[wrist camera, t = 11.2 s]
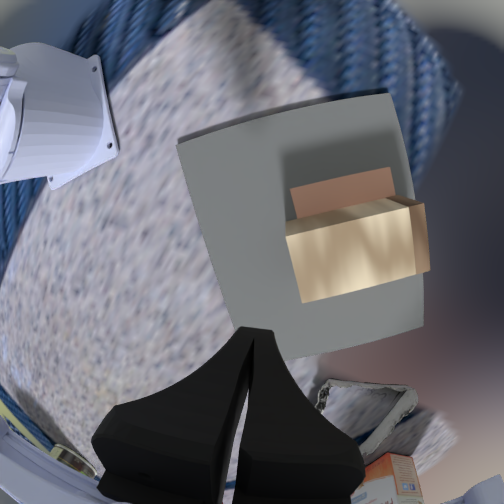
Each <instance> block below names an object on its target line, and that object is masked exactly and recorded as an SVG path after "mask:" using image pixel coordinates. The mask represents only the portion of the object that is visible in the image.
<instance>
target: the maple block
mask: <svg viewBox="0 0 504 504" xmlns="http://www.w3.org/2000/svg"><path fill="white" fill-rule="evenodd" d="M285 237H286V241H287V245H288V249H289V252H290V256H291V260H292V264H293V268H294V272H295V276H296V280H297V284H298V288H299V293H300V297H301V301H302V303H307V302H311V301H315V300H320V299H324V298H328V297H332V296H337V295H341V294H345V293H349V292H353V291H357V290H361V289H365V288H368V287H372V286H376V285H380V284H383V283H387V282H391V281H394V280H398V279H401V278H405V277H408V276H412V275H415V274H416V275H417V274H420V273H423V272H427V271H430V258H429V244H428V234H427V224H426V216H425V208H424V203H421V202H418V201H416V200H413V199H410V198H407V197H403V196H400V195H395V196H390V197H386V198H383V199H379V200H374V201H370V202H366V203H361V204H357V205H353V206H348V207H344V208H340V209H336V210H332V211H327V212H323V213H319V214H315V215H311V216H307V217H303V218H299V219H294V220H290V221H286V222H285Z"/></svg>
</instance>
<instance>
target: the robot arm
mask: <svg viewBox="0 0 504 504" xmlns="http://www.w3.org/2000/svg"><path fill="white" fill-rule="evenodd" d="M96 68H97V70H96V71H95V69H96ZM111 142H112V147H111V148H110V143H111ZM118 152H119V148H118V144H117V140H116V136H115V132H114V128H113V123H112V119H111V114H110V110H109V105H108V100H107V95H106V90H105V84H104V79H103V73H102V67H101V60H100V56H98V55H93V56H91V57H90V58H88V59H85V58H83V57H80V56H78V55H75V54H72V53H70V52H67V51H64V50H62V49H59V48H56V47H53V46H50V45H47V44H43V43H27V44H22V45H18V46H16V47H13V48H11V49H9V50H8V49H6V48H3V47H0V184H3V183H8V182H13V181H19V180H24V179H30V178H36V177H42V176H47V178H48V183H49V186H50V188H51V189H52V190H54V189H57V188H59V187H60V186H62V185H64V184H66V183H67V182H69V181H71V180H73V179H74V178H76V177H78V176H80V175H82V174H83V173H85V172H87V171H89V170H91V169H93V168H95V167H97V166H99V165H101V164H103V163H105V162H107V161H109V160H111V159H113V158H115V157H116V156H117V155H118ZM52 177H53V180H52ZM248 389H249V393H248V409H247V414H246V419H245V424H244V429H243V434H242V438H241V443H240V447H239V457H238V466H237V476H236V485H235V490H234V495H233V501H232V504H351V495H352V493H353V492H354V491H355V490H356V489H357V488H358V487H359V485H360V484H361V483H362V482H363V480H364V479H365V477H366V471H365V464H364V460H363V457H362V454H361V452H360V449H359V446H358V444H357V442H356V441H355V440H353V439H352V438H350V437H349V436H348V435H346V434H345V433H343V432H342V431H340V430H339V429H338V428H336V427H335V426H334V425H333V424H332V423H330V422H329V421H328V420H327V419H326V418H325V417H324V416H323V415H322V414H321V413H320V412H319V411H318V410H317V409H316V408H315V407H314V406H313V405H312V404H311V403H310V401H309V400H308V399H307V398H306V396H305V395H304V394H303V392H302V391H301V390H300V388H299V387H298V385H297V384H296V382H295V381H294V379H293V377H292V376H291V374H290V372H289V370H288V369H287V367H286V365H285V363H284V360H283V358H282V356H281V354H280V351H279V349H278V346H277V343H276V339H275V335H274V332H273V331H272V330H269V329H260V328H252V327H244V326H240V327H239V328H238V329H237V330H236V332H235V333H234V334H233V336H232V337H231V338H230V339H229V340H228V341H227V343H226V344H225V345H224V346H223V347H222V348H221V349H220V350H219V351H218V352H217V353H216V354H215V355H214V356H213V357H212V358H210V359H209V360H208V361H207V362H206V363H205V364H204V365H202V366H201V367H200V368H198V369H197V370H196V371H194V372H193V373H192V374H190V375H189V376H187V377H186V378H184V379H182V380H181V381H179V382H177V383H175V384H174V385H172V386H170V387H168V388H166V389H164V390H162V391H159V392H157V393H155V394H152V395H150V396H147V397H144V398H141V399H138V400H135V401H131V402H127V403H124V404H120V405H115V406H114V407H113V408H112V410H111V411H110V412H109V413H108V414H107V415H106V417H105V418H104V419H103V421H102V422H101V424H100V425H99V427H98V428H97V430H96V432H95V433H94V435H93V436H92V439H91V443H92V446H93V449H94V451H95V453H96V454H97V456H98V458H99V459H100V461H101V463H102V464H103V466H104V468H105V469H106V470H105V472H104V474H103V476H102V478H101V480H100V482H98V481H96V480H94V479H92V478H90V477H88V476H86V475H84V474H82V473H80V472H78V471H76V470H74V469H72V468H70V467H68V466H66V465H64V464H63V463H61V462H59V461H57V460H56V459H54V458H52V457H51V456H49V455H47V454H46V453H44V452H42V451H41V450H39V449H38V448H36V447H35V446H33V445H32V444H30V443H29V442H27V441H26V440H24V439H23V438H21V437H20V436H18V435H17V434H16V433H14V432H13V431H12V430H10V429H9V427H8V425H7V423H6V422H5V420H4V419H3V418H2V417H1V415H0V488H1V489H2V490H4V491H5V492H6V493H7V494H8V495H10V496H11V497H12V498H13V499H14V500H16V501H17V502H18V503H20V504H222V500H223V495H224V489H225V484H226V479H227V473H228V468H229V463H230V457H231V452H232V447H233V442H234V437H235V433H236V429H237V426H238V423H239V419H240V416H241V413H242V409H243V406H244V403H245V399H246V396H247V392H248ZM441 504H504V483H503V480H502V478H501V476H500V474H499V475H496V476H494V477H491V478H489V479H487V480H485V481H482V482H480V483H478V484H477V485H475V486H473V487H472V488H471V489H469V490H468V491H467V492H466V493H465V494H464V495H463V496H461V497H459V498H456V499H453V500H451V501H447V502H444V503H441Z"/></svg>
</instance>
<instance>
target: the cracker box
mask: <svg viewBox="0 0 504 504" xmlns="http://www.w3.org/2000/svg"><path fill="white" fill-rule="evenodd" d="M365 471H366V477H365V479H364V480H363V482H362V483H361V484H360V485H359V487H358V488H357V489H356V490H355V491H354V492H353V493H352V495H351V504H424V500H423V496H422V492H421V488H420V484H419V480H418V476H417V473H416V469H415V465H414V462H413V458H412V457H409V456H403V455H398V454H393V453H388V452H387V453H386V454H384V455H383V456H382V457H380V458H379V459H377V460H376V461H374V462H373V463H371V464H370V465H368V466H367V467H365Z"/></svg>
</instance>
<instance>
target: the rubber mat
mask: <svg viewBox="0 0 504 504" xmlns="http://www.w3.org/2000/svg"><path fill="white" fill-rule="evenodd" d="M176 148H177V152H178V155H179V159H180V162H181V166H182V169H183V172H184V176H185V179H186V183H187V186H188V189H189V193H190V196H191V199H192V202H193V206H194V209H195V212H196V215H197V219H198V222H199V225H200V228H201V231H202V234H203V238H204V241H205V244H206V247H207V250H208V253H209V256H210V259H211V262H212V265H213V268H214V271H215V274H216V277H217V280H218V283H219V286H220V289H221V292H222V295H223V297H224V300H225V303H226V306H227V309H228V312H229V315H230V317H231V320H232V323H233V326H234V329H235V331H236V330H237V329H238V328H239V327H240V326H244V327H252V328H260V329H269V330H272V331H273V332H274V335H275V339H276V343H277V346H278V349H279V351H280V354H281V356H282V358H283V360H284V361H287V360H292V359H298V358H303V357H308V356H313V355H318V354H322V353H327V352H331V351H336V350H340V349H344V348H349V347H353V346H357V345H361V344H364V343H368V342H372V341H376V340H379V339H383V338H387V337H390V336H393V335H397V334H400V333H403V332H407V331H410V330H412V329H416V328H419V327H422V326H423V324H424V321H423V320H424V292H423V273H420V274H417V275H416V274H415V275H412V276H408V277H405V278H401V279H398V280H394V281H391V282H387V283H383V284H380V285H376V286H372V287H368V288H365V289H361V290H357V291H353V292H349V293H345V294H341V295H337V296H332V297H328V298H324V299H320V300H315V301H311V302H307V303H302V301H301V297H300V293H299V288H298V284H297V280H296V276H295V272H294V268H293V264H292V260H291V256H290V252H289V249H288V245H287V241H286V237H285V222H286V221H290V220H294V219H299V218H303V217H307V216H311V215H315V214H319V213H323V212H327V211H332V210H336V209H340V208H344V207H348V206H353V205H357V204H361V203H366V202H370V201H374V200H379V199H383V198H386V197H390V196H395V195H400V196H403V197H407V198H410V199H413V200H415V195H414V189H413V183H412V178H411V173H410V168H409V163H408V158H407V154H406V149H405V145H404V141H403V137H402V133H401V129H400V125H399V122H398V118H397V115H396V111H395V108H394V105H393V101H392V98H391V95H390V93H384V94H376V95H369V96H362V97H355V98H349V99H343V100H337V101H332V102H326V103H321V104H316V105H311V106H307V107H302V108H298V109H293V110H289V111H285V112H281V113H277V114H273V115H269V116H265V117H261V118H258V119H254V120H251V121H247V122H244V123H240V124H237V125H234V126H230V127H227V128H224V129H221V130H218V131H215V132H212V133H209V134H206V135H203V136H200V137H197V138H194V139H191V140H188V141H186V142H183V143H180V144H178V145H176Z"/></svg>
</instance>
